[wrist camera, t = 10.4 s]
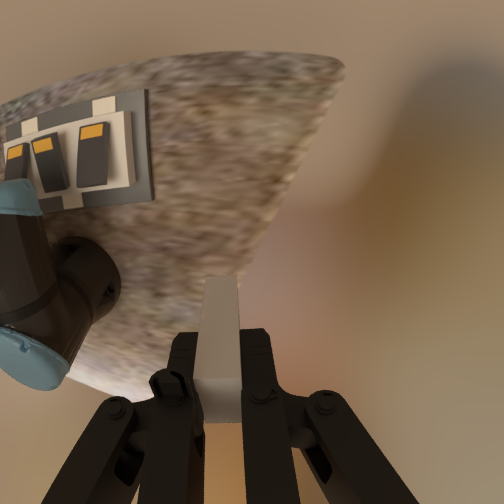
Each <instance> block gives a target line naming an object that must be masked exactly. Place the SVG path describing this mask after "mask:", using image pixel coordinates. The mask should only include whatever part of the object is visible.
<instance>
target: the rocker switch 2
mask: <svg viewBox="0 0 504 504" xmlns="http://www.w3.org/2000/svg"><path fill="white" fill-rule="evenodd" d="M31 144H32V149H33V153H34V157H35V161H36V164H37V168H38V172H39V175H40V179H41V182H42V185H43V189H44V192H45V193H50V192H55V191H61V190H67V188H68V187H69V186H70V183H69V180H68V176H67V172H66V168H65V164H64V160H63V156H62V152H61V147H60V142H59V138H58V133H57V132H54V133H50V134H47V135H43V136H40V137H37V138H34V139H33V140H31Z"/></svg>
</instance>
